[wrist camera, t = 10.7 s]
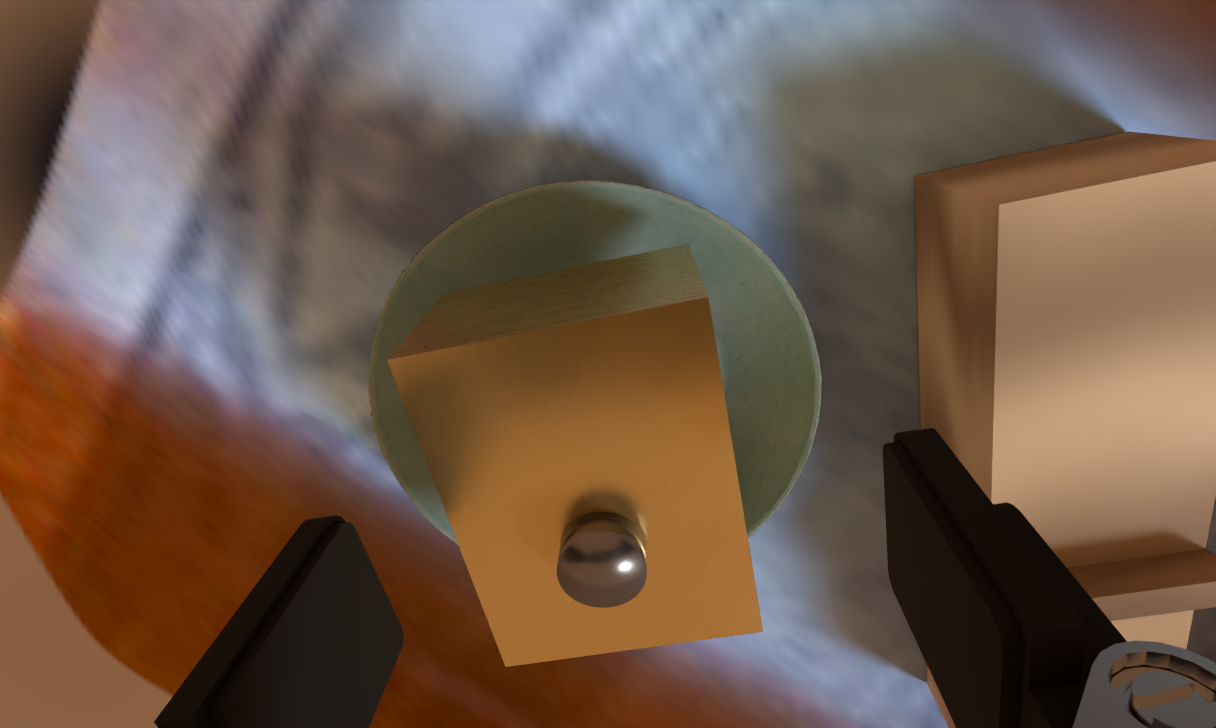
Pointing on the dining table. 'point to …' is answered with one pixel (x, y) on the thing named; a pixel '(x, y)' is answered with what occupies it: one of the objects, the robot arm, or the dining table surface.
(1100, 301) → the wooden peg block
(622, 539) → the yellow rectangular block
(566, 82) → the dining table surface
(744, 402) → the saucer
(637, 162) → the dining table surface
